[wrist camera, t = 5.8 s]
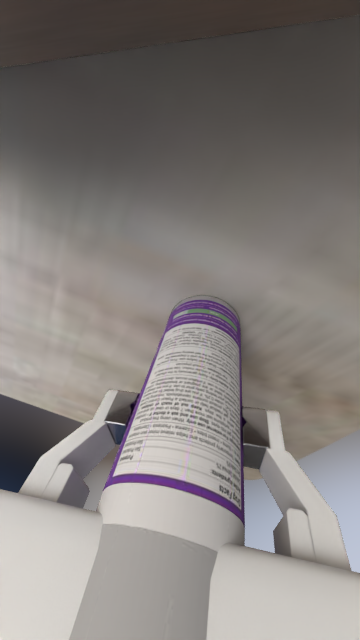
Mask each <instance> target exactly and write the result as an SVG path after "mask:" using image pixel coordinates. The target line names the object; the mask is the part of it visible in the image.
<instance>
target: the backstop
mask: <svg viewBox="0 0 360 640" xmlns="http://www.w3.org/2000/svg"><path fill="white" fill-rule="evenodd" d="M355 15H360V0H0V68H4V67H10V66H17V65H24V64H31V63H37V62H44V61H51V60H58V59H64V58H71V57H78V56H85V55H91V54H98V53H105V52H112V51H119V50H125V49H132V48H139V47H146V46H152V45H159V44H166V43H173V42H179V41H186V40H193V39H200V38H206V37H213V36H220V35H227V34H233V33H240V32H247V31H254V30H260V29H267V28H274V27H281V26H288V25H294V24H301V23H308V22H315V21H321V20H328V19H335V18H342V17H348V16H355Z"/></svg>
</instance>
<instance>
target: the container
mask: <svg viewBox="0 0 360 640" xmlns="http://www.w3.org/2000/svg"><path fill="white" fill-rule="evenodd" d="M241 407H242V380H241V333H240V321H239V318H238V315H237V313H236V312H235V310H234V309H233V308H232V307H231V306H230V305H229V304H227V303H226V302H224V301H222V300H220V299H218V298H215V297H211V296H193V297H189V298H187V299H184V300H182V301H181V302H179V303H178V304H177V305H176V306H175V307H174V309H173V310H172V312H171V314H170V317H169V319H168V322H167V324H166V327H165V330H164V332H163V335H162V338H161V340H160V343H159V345H158V348H157V351H156V353H155V356H154V359H153V361H152V364H151V366H150V369H149V372H148V374H147V377H146V379H145V382H144V385H143V387H142V390H141V393H140V395H139V398H138V400H137V403H136V406H135V408H134V411H133V414H132V416H131V419H130V421H129V424H128V427H127V429H126V432H125V434H124V437H123V440H122V442H121V445H120V448H119V450H118V453H117V455H116V458H115V461H114V463H113V466H112V469H111V471H110V474H109V476H108V479H107V482H106V484H105V487H104V490H103V493H102V496H101V499H100V501H99V504H98V507H97V510H96V512H100V513H101V514H102V517H103V525H102V529H101V535H100V541H99V547H98V551H97V554H96V557H95V560H94V564H93V567H92V570H91V573H90V576H89V579H88V582H87V585H86V588H85V592H84V595H83V598H82V601H81V604H80V607H79V610H78V613H77V616H76V620H75V623H74V626H73V629H72V632H71V635H70V638H69V640H206V637H207V623H208V609H209V595H210V581H211V576H212V572H213V569H214V565H215V562H216V558H217V554H218V552H217V551H219V549H220V547H221V546H222V545H223V544H225V543H233V544H237V545H242V546H244V541H245V540H244V539H245V538H244V535H245V534H244V533H245V529H244V528H245V521H244V473H243V449H242V411H241Z"/></svg>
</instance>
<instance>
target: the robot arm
mask: <svg viewBox="0 0 360 640" xmlns="http://www.w3.org/2000/svg"><path fill="white" fill-rule="evenodd" d="M139 395H140V393H134V392H127V391H120V390H113V389H109V390H108V391H107V393H106V395H105V396H104V398H103V400H102V402H101V404H100V406H99V408H98V410H97V412H96V414H95V416H94V418H93V420H89V421H87V422H86V423H85V424H83V425H82V426H81V427H79V428H78V429H77V430H75V431H74V432H73V433H72V434H70V435H69V436H68V437H66V438H65V439H64V440H62V441H61V442H60V443H58V444H57V445H56V446H54V447H53V448H52V449H51V450H49V451H48V452H47V453H46V454H44V455H43V456H41V457H40V459H39V460H38V462H37V464H36V465H35V467H34V468H33V470H32V472H31V473H30V475H29V476H28V478H27V480H26V481H25V483H24V484H23V486H22V488H21V489H20V491H19V492H18V493H14V492H10V491H5V490H1V489H0V640H69V638H70V635H71V632H72V629H73V626H74V623H75V620H76V616H77V613H78V610H79V607H80V604H81V601H82V598H83V595H84V592H85V588H86V585H87V582H88V579H89V576H90V573H91V570H92V567H93V564H94V560H95V557H96V554H97V551H98V547H99V541H100V535H101V529H102V525H103V517H102V514H101V513H100V512H96V511H91V510H87V509H83V507H84V504H85V502H86V499H87V497H88V495H89V488H88V486H87V485H86V484H85V482H84V481H83V479H84V478H85V476H87V474H88V473H89V472H90V471H91V470H92V469H93V468H94V467H95V466H96V465H97V464H98V463H99V462H100V461H101V460H102V459H103V458H104V457H105V456H106V455H107V454H108V453H109V452H110V451H111V450H112V449H113V448H114V447H115V444H118V445H121V442H122V440H123V437H124V434H125V432H126V429H127V427H128V424H129V421H130V419H131V416H132V414H133V411H134V408H135V406H136V403H137V400H138V398H139ZM241 411H242V449H243V466H245V467H250V468H255V469H259V471H260V473H261V475H262V477H263V479H264V480H265V482H266V484H267V486H268V488H269V489H270V492H271V493H272V495H273V497H274V499H275V501H276V503H277V505H278V506H279V508H280V510H281V512H282V514H283V518H282V519H281V521H280V522H279V523H278V525H277V527H276V528H275V529H274V531H273V535H274V546H275V553H271V552H267V551H263V550H258V549H254V548H250V547H246V546H242V545H237V544H233V543H225V544H223V545H222V546H221V547H220V549H219V551H217V552H218V554H217V558H216V562H215V565H214V569H213V572H212V576H211V581H210V595H209V609H208V623H207V637H206V640H360V573H357V572H353V571H351V568H350V564H349V560H348V556H347V553H346V549H345V545H344V541H343V538H342V534H341V530H340V526H339V522H338V519H337V516H336V514H335V513H334V512H333V511H332V509H331V508H330V506H329V505H328V504H327V502H326V501H325V500H324V498H323V497H322V496H321V494H320V493H319V491H318V490H317V489H316V488H315V486H314V485H313V484H312V482H311V481H310V479H309V478H308V477H307V475H306V474H305V473H304V471H303V470H302V469H301V467H300V466H299V464H298V463H297V462H296V460H295V459H294V458H293V456H292V455H291V454H290V452H287V451H285V446H284V439H283V433H282V427H281V421H280V414H279V412H278V411H273V410H265V409H259V408H250V407H241Z"/></svg>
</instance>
